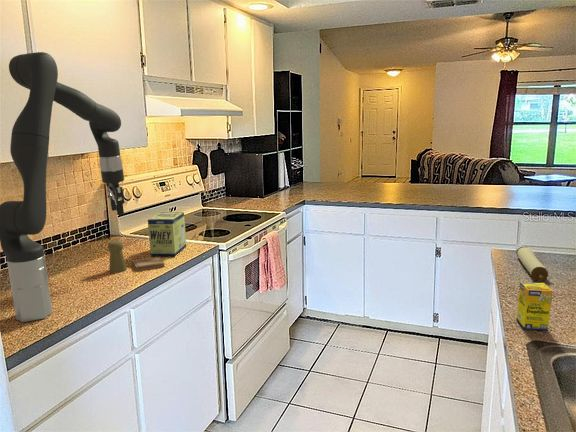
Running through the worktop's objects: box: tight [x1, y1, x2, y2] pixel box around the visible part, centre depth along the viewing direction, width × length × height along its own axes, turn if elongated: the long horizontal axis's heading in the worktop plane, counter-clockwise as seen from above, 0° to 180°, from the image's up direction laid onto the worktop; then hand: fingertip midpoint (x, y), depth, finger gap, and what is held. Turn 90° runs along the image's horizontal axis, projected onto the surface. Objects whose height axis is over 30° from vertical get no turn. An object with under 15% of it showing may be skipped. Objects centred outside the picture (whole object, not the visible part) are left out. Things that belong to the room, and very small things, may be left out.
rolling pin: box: [515, 246, 550, 282], centre depth 160 cm, size 32×6×5 cm, turn 163°
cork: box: [107, 240, 128, 274], centre depth 167 cm, size 6×6×11 cm
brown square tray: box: [132, 257, 165, 272], centre depth 173 cm, size 10×10×2 cm
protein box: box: [147, 211, 187, 258], centre depth 189 cm, size 10×16×16 cm
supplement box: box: [516, 281, 553, 332], centre depth 117 cm, size 6×6×11 cm
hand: (117, 212), depth 166 cm, fingers open, 8 cm apart
